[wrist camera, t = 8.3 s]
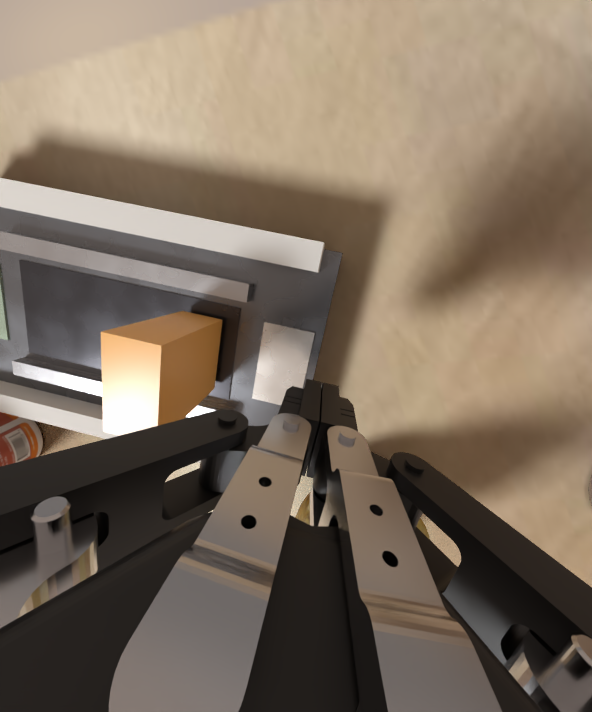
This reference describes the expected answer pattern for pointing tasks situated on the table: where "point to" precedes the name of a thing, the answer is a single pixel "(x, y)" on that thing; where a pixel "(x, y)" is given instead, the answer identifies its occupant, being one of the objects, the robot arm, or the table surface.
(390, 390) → the table surface
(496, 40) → the table surface
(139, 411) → the lever
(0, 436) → the pill bottle
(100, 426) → the pair of white bars
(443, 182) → the table surface
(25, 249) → the panel
